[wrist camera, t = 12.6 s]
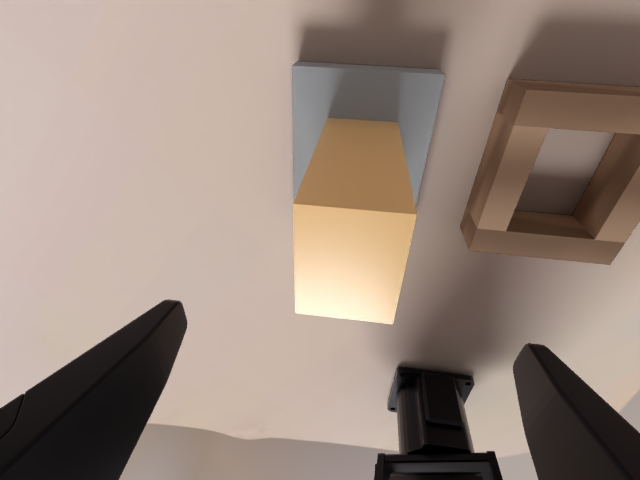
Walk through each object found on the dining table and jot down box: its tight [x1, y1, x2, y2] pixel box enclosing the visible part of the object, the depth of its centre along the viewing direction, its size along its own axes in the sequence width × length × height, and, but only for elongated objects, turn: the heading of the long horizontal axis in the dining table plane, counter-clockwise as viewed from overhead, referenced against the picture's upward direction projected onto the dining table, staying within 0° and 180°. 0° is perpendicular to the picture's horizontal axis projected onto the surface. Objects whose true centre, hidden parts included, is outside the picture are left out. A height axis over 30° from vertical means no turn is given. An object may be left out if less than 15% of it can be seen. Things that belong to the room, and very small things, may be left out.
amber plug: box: [293, 118, 417, 324], centre depth 15 cm, size 4×4×9 cm
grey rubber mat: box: [292, 61, 445, 207], centre depth 19 cm, size 9×7×2 cm
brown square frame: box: [460, 79, 640, 265], centre depth 18 cm, size 8×8×2 cm
